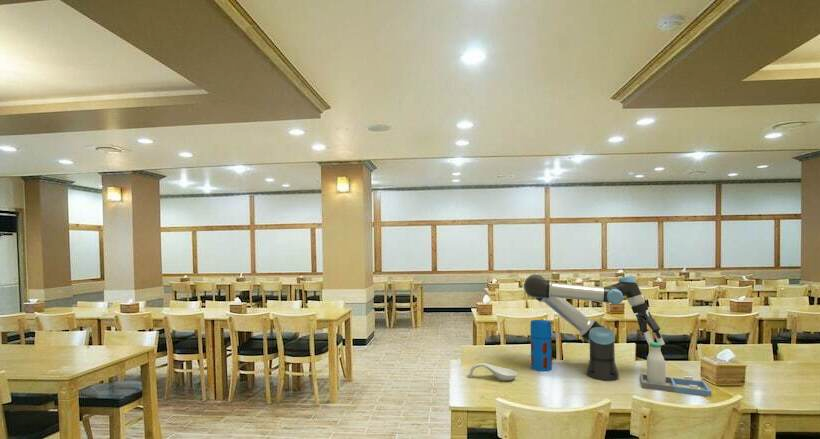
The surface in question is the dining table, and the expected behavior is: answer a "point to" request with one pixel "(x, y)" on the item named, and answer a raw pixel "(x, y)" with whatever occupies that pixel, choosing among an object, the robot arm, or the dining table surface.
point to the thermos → (541, 345)
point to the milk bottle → (656, 365)
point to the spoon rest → (497, 371)
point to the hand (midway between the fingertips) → (656, 344)
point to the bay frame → (687, 381)
